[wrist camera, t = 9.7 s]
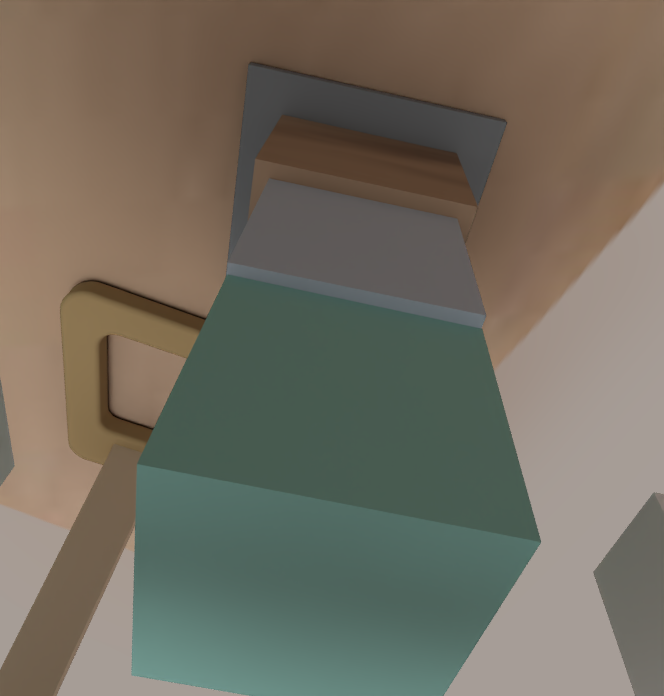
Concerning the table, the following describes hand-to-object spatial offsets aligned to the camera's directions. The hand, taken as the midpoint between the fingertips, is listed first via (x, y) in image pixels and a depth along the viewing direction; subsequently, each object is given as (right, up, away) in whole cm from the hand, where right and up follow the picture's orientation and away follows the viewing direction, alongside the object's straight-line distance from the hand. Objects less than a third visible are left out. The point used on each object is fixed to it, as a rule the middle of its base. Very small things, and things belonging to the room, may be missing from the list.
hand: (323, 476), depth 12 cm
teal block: (0, +1, +3) cm, 3 cm away
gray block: (+1, +5, +8) cm, 9 cm away
